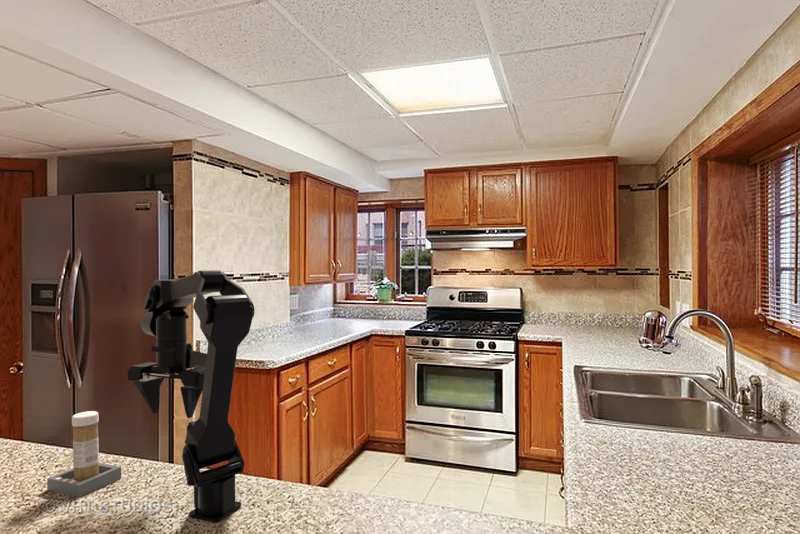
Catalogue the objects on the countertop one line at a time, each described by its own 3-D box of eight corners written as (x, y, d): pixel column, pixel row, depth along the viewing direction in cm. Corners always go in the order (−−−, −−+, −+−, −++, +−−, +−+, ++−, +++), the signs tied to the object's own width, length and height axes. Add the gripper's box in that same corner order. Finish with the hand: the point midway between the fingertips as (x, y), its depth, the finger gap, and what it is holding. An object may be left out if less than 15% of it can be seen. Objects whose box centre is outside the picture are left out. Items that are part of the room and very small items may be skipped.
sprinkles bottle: (96, 473, 102) (95, 409, 102) (102, 479, 99) (101, 413, 99) (70, 480, 99) (69, 413, 99) (75, 487, 95) (74, 418, 95)
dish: (121, 478, 101) (121, 465, 101) (79, 497, 93) (79, 484, 93) (90, 471, 104) (90, 460, 104) (47, 490, 96) (47, 477, 96)
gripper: (234, 336, 105) (235, 408, 105) (168, 333, 112) (169, 401, 112) (196, 344, 95) (197, 424, 95) (125, 340, 101) (126, 415, 101)
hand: (172, 415), depth 101 cm, fingers open, 9 cm apart
